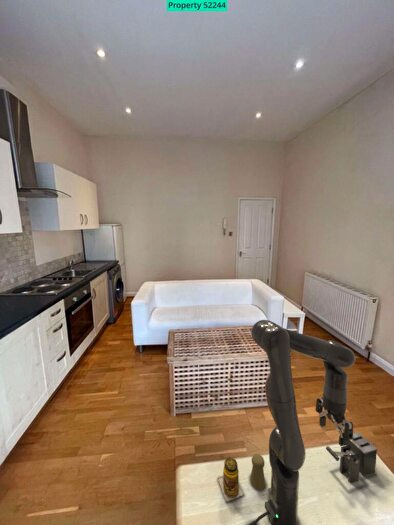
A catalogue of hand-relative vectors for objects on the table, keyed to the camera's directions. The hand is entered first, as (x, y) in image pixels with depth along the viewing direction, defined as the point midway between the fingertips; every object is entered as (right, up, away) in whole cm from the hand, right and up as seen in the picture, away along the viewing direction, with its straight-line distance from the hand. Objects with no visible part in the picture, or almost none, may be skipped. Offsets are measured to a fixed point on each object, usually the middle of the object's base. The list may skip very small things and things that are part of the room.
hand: (331, 435), depth 83 cm
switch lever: (+8, -15, +7) cm, 18 cm away
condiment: (-38, -27, +6) cm, 47 cm away
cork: (-26, -26, +8) cm, 38 cm away
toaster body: (+21, -25, +14) cm, 36 cm away
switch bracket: (+13, -26, +9) cm, 30 cm away
